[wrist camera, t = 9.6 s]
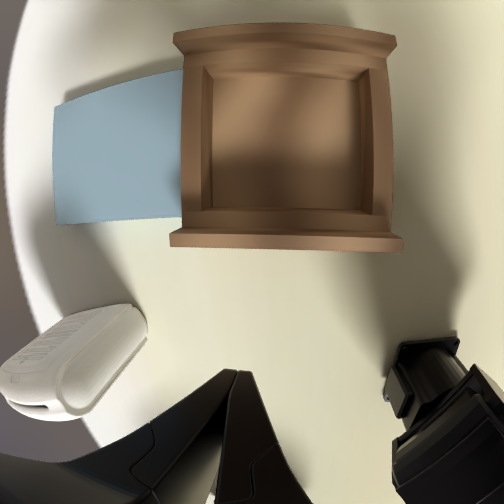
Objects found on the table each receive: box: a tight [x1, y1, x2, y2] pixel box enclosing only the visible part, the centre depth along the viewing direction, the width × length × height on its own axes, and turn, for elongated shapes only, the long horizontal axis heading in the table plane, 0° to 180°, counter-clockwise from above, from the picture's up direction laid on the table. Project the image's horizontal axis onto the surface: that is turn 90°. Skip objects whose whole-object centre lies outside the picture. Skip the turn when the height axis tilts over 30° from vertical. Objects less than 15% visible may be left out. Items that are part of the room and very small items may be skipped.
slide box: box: [169, 23, 403, 253], centre depth 15 cm, size 12×12×6 cm
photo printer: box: [0, 304, 148, 421], centre depth 17 cm, size 10×4×12 cm, turn 107°
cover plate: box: [52, 69, 183, 225], centre depth 18 cm, size 12×10×2 cm
